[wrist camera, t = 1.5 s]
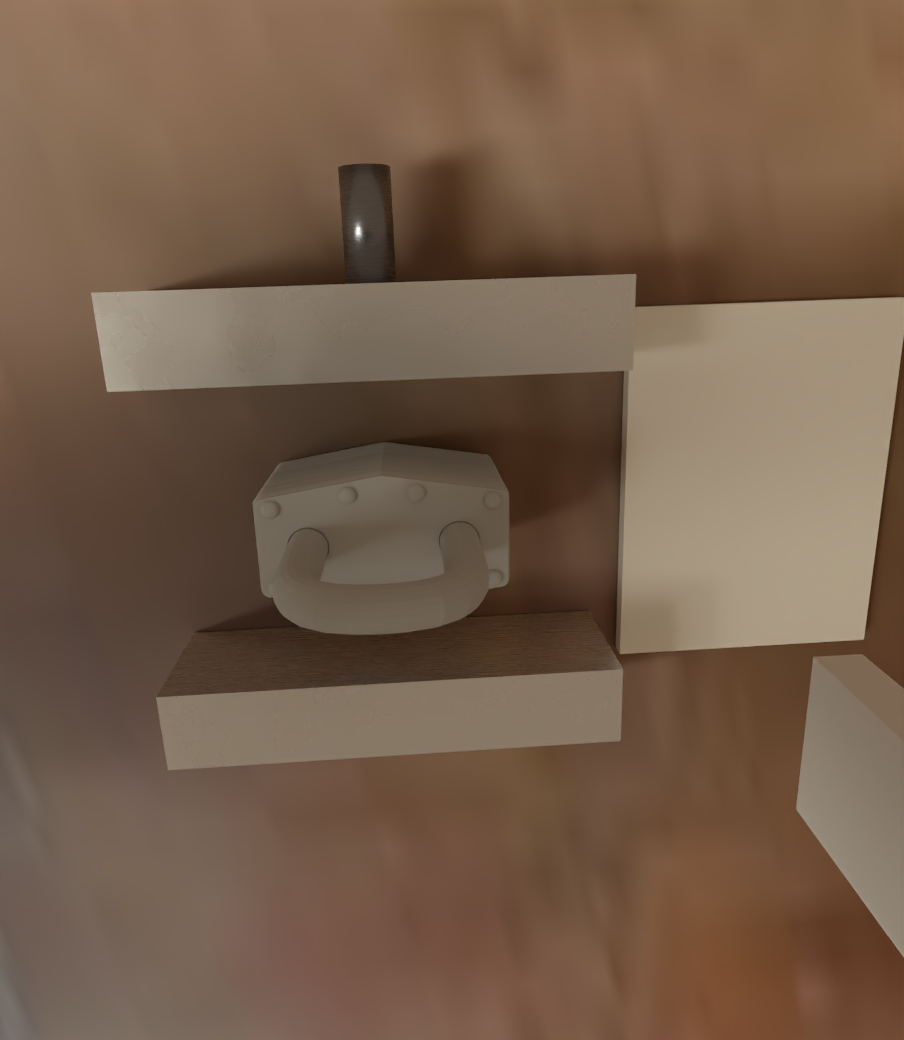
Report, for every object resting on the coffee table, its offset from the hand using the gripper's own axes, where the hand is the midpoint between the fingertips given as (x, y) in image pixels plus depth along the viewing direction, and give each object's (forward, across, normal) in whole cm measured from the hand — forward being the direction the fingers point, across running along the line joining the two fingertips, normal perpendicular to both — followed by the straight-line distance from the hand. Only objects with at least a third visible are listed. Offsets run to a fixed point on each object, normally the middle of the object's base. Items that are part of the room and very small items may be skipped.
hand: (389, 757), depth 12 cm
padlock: (+16, 0, 0) cm, 16 cm away
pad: (+15, +12, 0) cm, 20 cm away
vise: (+15, 0, +1) cm, 15 cm away
